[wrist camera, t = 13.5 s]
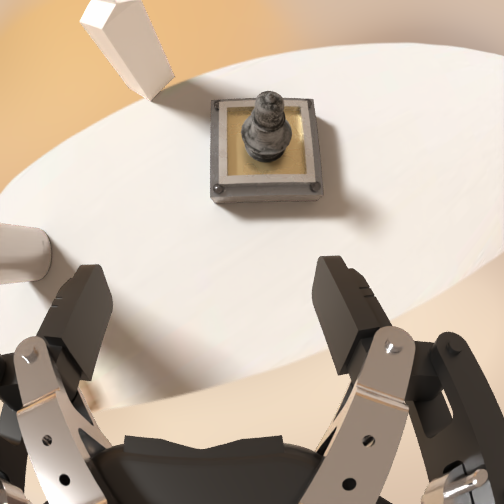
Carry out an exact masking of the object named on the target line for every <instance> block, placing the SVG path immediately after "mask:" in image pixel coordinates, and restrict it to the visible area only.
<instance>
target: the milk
mask: <svg viewBox="0 0 504 504" xmlns="http://www.w3.org/2000/svg"><path fill="white" fill-rule="evenodd" d="M80 23H81V24H82V26H83V27H84V29H85V30H86V31H87V33H88V34H89V35H90V36H91V38H92V39H93V40H94V42H95V43H96V45H97V46H98V47H99V49H100V50H101V51H102V52H103V54H104V55H105V57H106V58H107V59H108V61H109V62H110V63H111V65H112V66H113V67H114V69H115V70H116V71H117V73H118V74H119V76H120V77H121V78H122V79H123V81H124V82H125V83H126V85H127V86H128V88H130V89H131V90H133V91H135V92H136V93H138V94H140V95H141V96H143V97H144V98H146V99H147V100H149V101H151V100H152V99H153V98H154V97H155V96H156V95H157V94H158V93H159V92H160V91H161V90H162V89H163V88H164V87H165V86H166V85H167V84H168V83H169V82H170V81H171V80H172V79H173V78H174V77H175V76H174V73H173V71H172V69H171V66H170V64H169V62H168V60H167V57H166V55H165V53H164V51H163V49H162V46H161V44H160V42H159V40H158V37H157V35H156V32H155V30H154V28H153V26H152V23H151V21H150V19H149V17H148V14H147V12H146V10H145V7H144V5H143V3H142V1H141V0H91V1H90V3H89V5H88V7H87V8H86V10H85V12H84V14H83V16H82V18H81V20H80Z"/></svg>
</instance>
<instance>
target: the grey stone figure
mask: <svg viewBox="0 0 504 504" xmlns="http://www.w3.org/2000/svg"><path fill="white" fill-rule="evenodd" d="M241 136H242V140H243V142H244V144H245V149H246V151H247V153H248V154H249V156H250V157H252V158H253V159H254V160H257V161H259V162H264V163H267V162H273V161H275V160H277V159H279V158H280V157H281V156H282V155H283V154H284V152H285V149H286V147H287V146H288V145H289V143H290V141H291V138H292V129H291V126H290V124H289V122H288V121H287V120H286V117H285V113H284V100H283V98H282V97H281V96H280V95H279V94H278V93H276V92H273V91H265V92H262V93H261V94H259V95H258V96H257V98H256V100H255V108H254V109H253V111H252V113H251V115H250V116H249V117H248V118H247V119H246V120H245V121H244V123H243V125H242V129H241Z"/></svg>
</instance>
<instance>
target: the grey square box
mask: <svg viewBox="0 0 504 504" xmlns="http://www.w3.org/2000/svg"><path fill="white" fill-rule="evenodd" d="M255 100H256V98H245V99H225V100H211V144H210V198H211V199H212V200H213V202H214V203H233V202H263V201H317V200H318V199H319V198H320V197H322V196H323V183H322V171H321V160H320V150H319V141H318V132H317V124H316V116H315V108H314V101H313V99H300V98H283V100H284V113H285V117H286V120H287V121H288V122H289V124H290V126H291V129H292V138H291V141H290V143H289V145H288V146H287V147H286V149H285V152H284V154H283V155H282V156H281V157H280V158H279V159H277V160H275V161H273V162H267V163H264V162H259V161H257V160H254V159H253V158H252V157H250V156H249V154H248V153H247V151H246V149H245V144H244V142H243V140H242V136H241V129H242V125H243V123H244V121H245V120H246V119H247V118H248V117H249V116H250V115H251V113H252V111H253V109H254V108H255Z"/></svg>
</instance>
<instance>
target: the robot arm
mask: <svg viewBox="0 0 504 504" xmlns="http://www.w3.org/2000/svg"><path fill="white" fill-rule="evenodd" d="M51 254H52V253H51V245H50V241H49V239H48V237H47V235H46V233H45V232H44V231H43V230H41V229H39V228H34V227H26V226H19V225H11V224H4V223H0V284H9V283H18V282H28V281H37V280H40V279H42V278H43V277H44V276H45V275H46V274H47V272H48V270H49V267H50V263H51ZM312 301H313V305H314V308H315V311H316V314H317V316H318V319H319V322H320V325H321V328H322V330H323V333H324V336H325V339H326V342H327V344H328V347H329V350H330V353H331V356H332V359H333V362H334V365H335V368H336V370H337V374H338V375H343V374H348V373H349V375H350V378H351V381H350V383H349V385H348V387H347V390H346V392H345V394H344V396H343V399H342V401H341V403H340V405H339V408H338V410H337V412H336V414H335V416H334V418H333V420H332V422H331V424H330V426H329V428H328V430H327V431H326V433H325V434H324V436H323V438H322V439H321V441H320V443H319V445H318V446H317V448H316V450H315V452H314V451H312V450H310V449H307V448H304V447H301V446H297V445H292V444H286V443H283V439H282V435H280V436H272V437H262V438H250V439H241V440H237V441H234V442H230V443H227V444H223V445H219V446H215V447H211V448H207V449H195V448H191V447H187V446H184V445H180V444H176V443H173V442H169V441H166V440H163V439H154V438H144V437H135V436H126V435H125V439H124V444H121V445H116V446H112V445H111V443H110V442H109V441H108V439H107V438H106V437H105V436H104V434H103V433H102V432H101V430H100V429H99V427H98V425H97V423H96V421H95V419H94V417H93V415H92V413H91V411H90V409H89V407H88V405H87V403H86V401H85V399H84V396H83V394H82V392H81V390H80V388H79V387H78V385H79V381H80V380H86V381H91V379H92V375H93V372H94V368H95V364H96V361H97V357H98V354H99V350H100V347H101V344H102V340H103V337H104V334H105V331H106V328H107V325H108V322H109V319H110V316H111V313H112V308H113V301H112V296H111V293H110V290H109V287H108V284H107V282H106V279H105V276H104V273H103V270H102V267H101V266H100V265H99V264H95V265H81V266H79V268H78V270H77V271H76V273H75V275H74V277H73V278H70V279H69V280H68V281H67V282H66V283H65V284H64V285H63V286H62V287H61V288H60V290H59V292H58V294H57V296H56V299H54V301H53V303H52V307H50V309H49V311H48V313H47V315H46V317H45V319H44V321H43V323H42V325H41V327H40V329H39V331H38V333H37V335H36V336H33V337H29V338H27V339H25V340H23V341H22V342H21V343H20V344H19V345H18V347H17V348H16V350H15V353H10V354H4V355H1V354H0V400H2V402H3V403H4V404H3V408H2V412H1V416H0V504H32V503H31V502H30V501H29V500H27V499H26V497H25V495H24V486H25V474H26V464H27V456H28V455H29V457H30V460H31V463H32V465H33V468H34V470H35V473H36V475H37V478H38V480H39V482H40V485H41V487H42V489H43V491H44V493H45V495H46V497H47V501H46V502H45V503H44V504H392V503H390V502H389V501H387V500H385V499H384V498H382V497H381V496H379V495H380V493H381V490H382V488H383V486H384V483H385V481H386V478H387V476H388V474H389V471H390V468H391V466H392V463H393V460H394V457H395V455H396V452H397V449H398V445H399V443H400V440H401V437H402V433H403V430H404V427H405V423H406V420H407V416H408V412H409V415H410V418H411V421H412V424H413V427H414V430H415V433H416V437H417V439H418V443H419V446H420V450H421V453H422V457H423V460H424V464H425V467H426V471H427V475H428V479H429V485H428V486H427V488H426V490H425V493H424V495H423V496H422V499H421V504H504V417H503V415H502V412H501V410H500V407H499V405H498V403H497V401H496V399H495V396H494V394H493V392H492V390H491V388H490V386H489V384H488V382H487V379H486V378H485V376H484V374H483V372H482V370H481V368H480V366H479V364H478V362H477V360H476V359H475V357H474V355H473V353H472V351H471V349H470V348H469V346H468V344H467V343H466V341H465V340H464V339H463V338H462V337H461V336H459V335H457V334H455V333H453V332H444V333H442V334H440V335H439V337H438V338H437V340H436V341H435V343H431V342H420V341H414V340H413V339H412V337H411V336H410V335H409V334H408V333H407V332H406V331H404V330H403V329H401V328H398V327H394V326H392V324H391V323H390V321H389V319H388V317H387V316H386V314H385V312H384V310H383V309H382V307H381V305H380V303H379V302H378V300H377V298H376V297H374V293H373V292H372V290H371V288H369V285H368V283H367V282H366V280H365V278H364V277H363V276H362V275H361V274H360V273H358V272H357V271H356V270H355V269H353V268H350V269H348V268H347V266H346V264H345V263H344V261H343V259H342V258H341V256H320V257H319V258H318V261H317V266H316V272H315V277H314V282H313V287H312ZM443 389H444V391H445V393H446V396H447V398H448V401H449V403H450V405H451V408H452V410H453V419H452V416H451V414H450V411H449V409H448V406H447V404H446V401H445V399H444V396H443V394H442V392H441V391H442V390H443ZM404 401H405V403H406V404H405V403H404Z"/></svg>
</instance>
